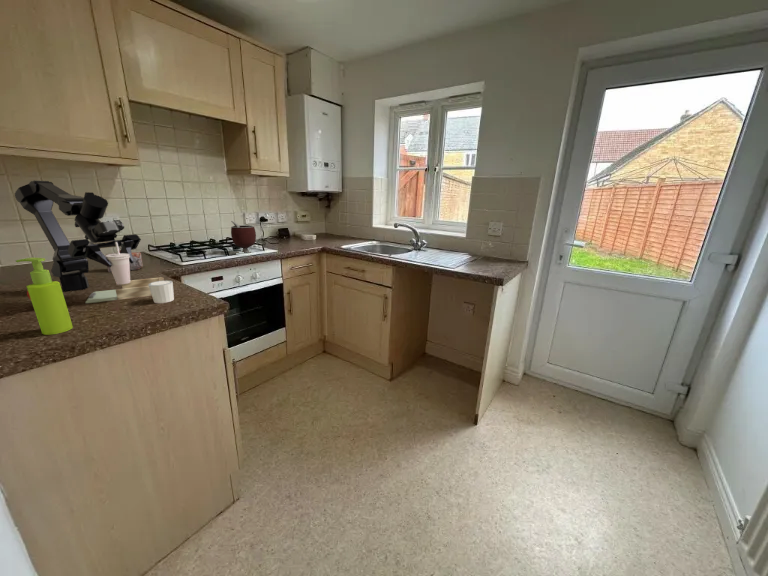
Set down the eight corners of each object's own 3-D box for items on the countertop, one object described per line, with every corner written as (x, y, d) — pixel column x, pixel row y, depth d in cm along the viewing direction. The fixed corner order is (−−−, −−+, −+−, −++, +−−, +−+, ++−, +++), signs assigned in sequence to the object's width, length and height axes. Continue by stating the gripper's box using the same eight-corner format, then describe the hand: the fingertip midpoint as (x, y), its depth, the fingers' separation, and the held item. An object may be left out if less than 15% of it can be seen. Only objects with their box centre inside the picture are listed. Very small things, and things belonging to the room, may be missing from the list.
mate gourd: (262, 252, 197) (259, 221, 192) (246, 256, 185) (242, 222, 179) (243, 251, 203) (240, 220, 197) (226, 254, 190) (222, 221, 184)
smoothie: (124, 285, 102) (115, 243, 98) (105, 285, 102) (95, 243, 98) (140, 280, 108) (131, 240, 104) (122, 280, 108) (113, 240, 104)
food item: (145, 267, 156) (141, 247, 153) (143, 270, 149) (138, 250, 146) (110, 269, 149) (105, 249, 146) (106, 273, 142) (101, 252, 140)
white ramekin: (180, 300, 109) (177, 281, 107) (161, 306, 103) (157, 286, 101) (166, 297, 111) (163, 279, 109) (147, 303, 105) (143, 284, 103)
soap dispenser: (52, 326, 86) (29, 256, 81) (78, 325, 87) (58, 256, 81) (31, 335, 81) (5, 260, 75) (59, 334, 81) (36, 260, 76)
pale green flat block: (86, 304, 102) (84, 300, 102) (94, 294, 113) (93, 290, 112) (117, 300, 107) (116, 296, 106) (122, 291, 117) (121, 287, 116)
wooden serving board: (118, 301, 107) (115, 290, 106) (123, 291, 117) (121, 281, 116) (163, 295, 113) (161, 285, 112) (165, 286, 124) (163, 277, 123)
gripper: (62, 213, 91) (94, 253, 91) (131, 211, 108) (158, 245, 107) (55, 237, 96) (85, 276, 96) (122, 231, 113) (148, 264, 112)
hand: (121, 264), depth 103 cm, fingers closed on smoothie, 6 cm apart
